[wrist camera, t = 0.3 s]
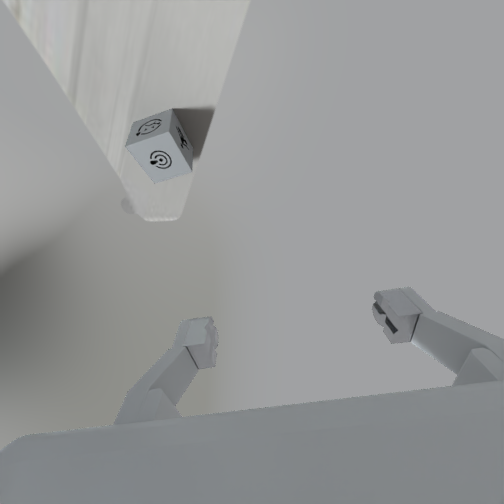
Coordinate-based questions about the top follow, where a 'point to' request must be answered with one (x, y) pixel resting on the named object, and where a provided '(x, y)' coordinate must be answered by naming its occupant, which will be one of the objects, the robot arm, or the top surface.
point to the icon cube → (161, 146)
